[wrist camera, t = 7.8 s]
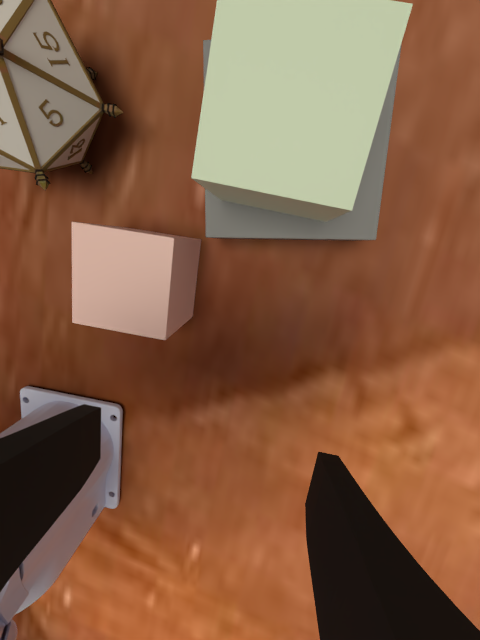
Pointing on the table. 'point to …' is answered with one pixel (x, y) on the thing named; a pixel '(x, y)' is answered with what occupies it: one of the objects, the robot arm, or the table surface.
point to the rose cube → (133, 279)
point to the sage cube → (295, 101)
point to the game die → (44, 93)
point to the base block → (275, 225)
